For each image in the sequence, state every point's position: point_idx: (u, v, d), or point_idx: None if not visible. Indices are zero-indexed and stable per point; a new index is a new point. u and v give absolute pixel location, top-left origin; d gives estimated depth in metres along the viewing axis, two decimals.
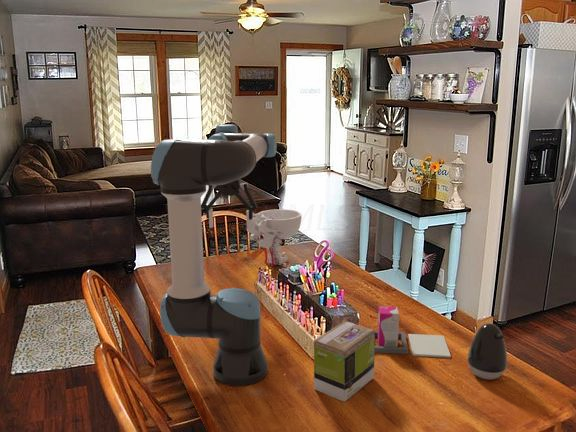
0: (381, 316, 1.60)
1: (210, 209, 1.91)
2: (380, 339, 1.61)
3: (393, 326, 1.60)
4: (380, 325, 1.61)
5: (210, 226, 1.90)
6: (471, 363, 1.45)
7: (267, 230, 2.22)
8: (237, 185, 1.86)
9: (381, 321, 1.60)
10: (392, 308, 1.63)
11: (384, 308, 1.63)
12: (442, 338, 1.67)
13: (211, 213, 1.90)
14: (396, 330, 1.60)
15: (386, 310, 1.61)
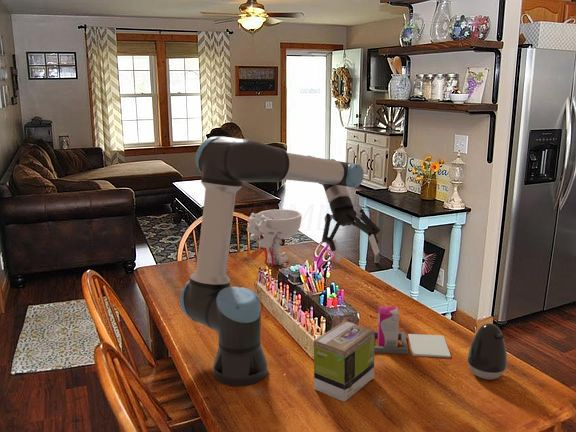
0: (381, 316, 1.60)
1: None
2: (380, 339, 1.61)
3: (393, 326, 1.60)
4: (380, 325, 1.61)
5: (339, 256, 1.70)
6: (471, 363, 1.45)
7: (267, 230, 2.22)
8: (354, 211, 1.79)
9: (381, 321, 1.60)
10: (392, 308, 1.63)
11: (384, 308, 1.63)
12: (442, 338, 1.67)
13: None
14: (396, 330, 1.60)
15: (386, 310, 1.61)
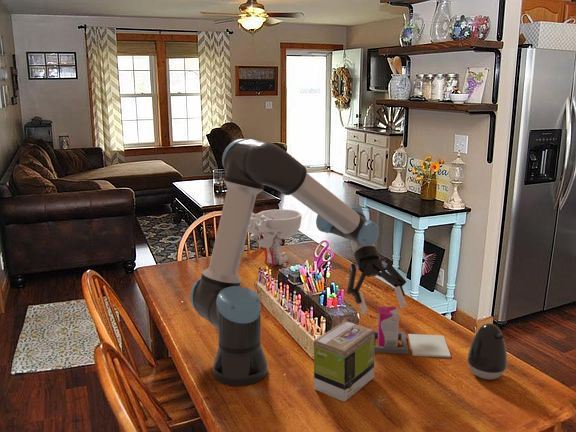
0: (381, 316, 1.60)
1: None
2: (380, 339, 1.61)
3: (393, 326, 1.60)
4: (380, 325, 1.61)
5: (366, 309, 1.64)
6: (471, 363, 1.45)
7: (267, 230, 2.22)
8: (380, 262, 1.75)
9: (381, 321, 1.60)
10: (392, 308, 1.63)
11: (384, 308, 1.63)
12: (442, 338, 1.67)
13: None
14: (396, 330, 1.60)
15: (386, 310, 1.61)
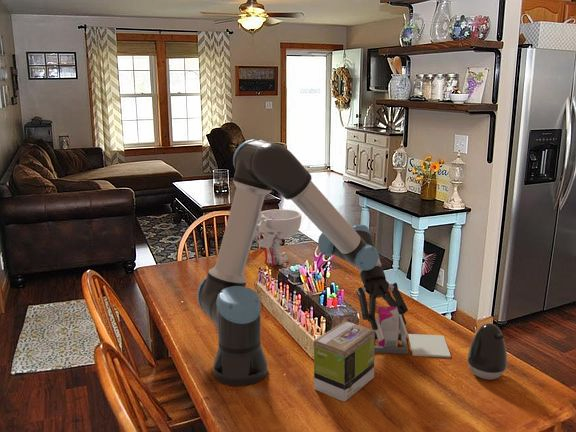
0: (381, 316, 1.60)
1: None
2: None
3: (393, 326, 1.60)
4: (380, 325, 1.61)
5: (382, 336, 1.59)
6: (471, 363, 1.45)
7: (267, 230, 2.22)
8: (387, 283, 1.69)
9: (381, 321, 1.60)
10: (392, 308, 1.63)
11: (384, 308, 1.63)
12: (442, 338, 1.67)
13: None
14: (396, 330, 1.60)
15: (386, 310, 1.61)
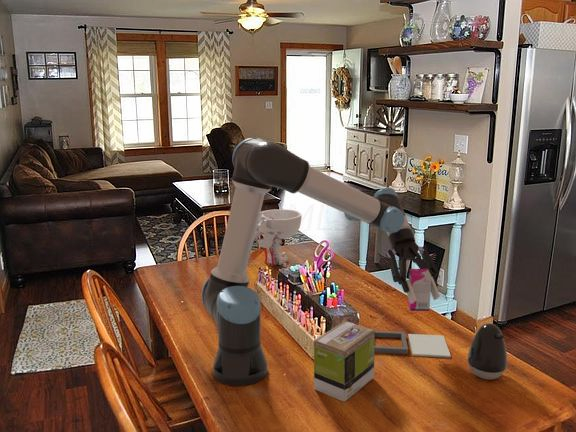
0: (413, 277, 1.56)
1: None
2: None
3: (425, 287, 1.57)
4: (412, 287, 1.57)
5: (415, 298, 1.55)
6: (471, 363, 1.45)
7: (267, 230, 2.22)
8: (416, 245, 1.66)
9: (413, 283, 1.57)
10: (423, 270, 1.60)
11: (415, 270, 1.60)
12: (442, 338, 1.67)
13: None
14: (428, 292, 1.57)
15: (417, 272, 1.58)
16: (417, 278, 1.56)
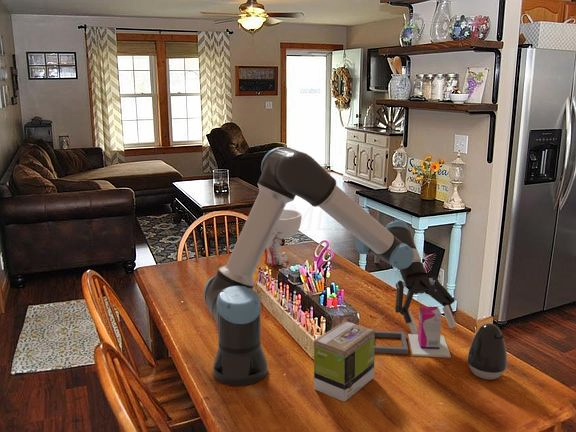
0: (423, 316, 1.58)
1: None
2: (422, 339, 1.60)
3: (435, 326, 1.59)
4: (422, 325, 1.59)
5: (416, 329, 1.57)
6: (471, 363, 1.45)
7: None
8: (427, 278, 1.67)
9: (423, 321, 1.59)
10: (433, 308, 1.62)
11: (425, 307, 1.62)
12: (442, 338, 1.67)
13: None
14: (438, 330, 1.59)
15: (427, 310, 1.60)
16: (428, 317, 1.58)
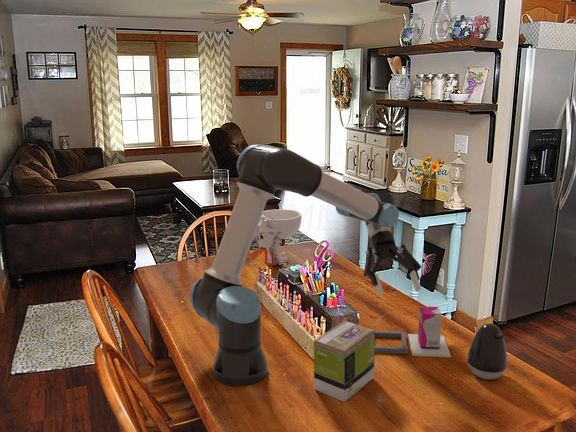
0: (423, 316, 1.58)
1: None
2: (422, 339, 1.60)
3: (435, 326, 1.59)
4: (422, 325, 1.59)
5: (382, 291, 1.68)
6: (471, 363, 1.45)
7: (267, 230, 2.22)
8: (396, 247, 1.79)
9: (423, 321, 1.59)
10: (433, 308, 1.62)
11: (425, 307, 1.62)
12: (442, 338, 1.67)
13: None
14: (438, 330, 1.59)
15: (428, 310, 1.60)
16: (428, 317, 1.58)
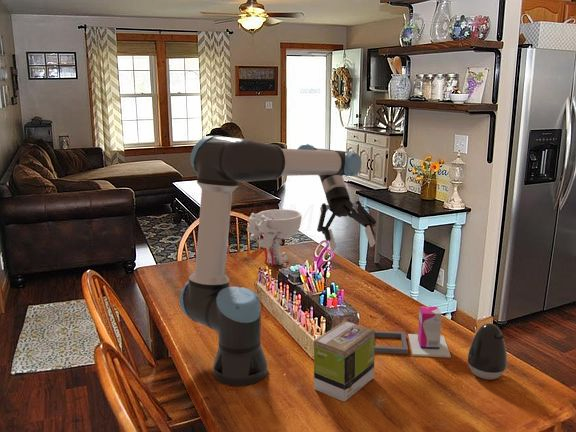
0: (423, 316, 1.58)
1: None
2: (422, 339, 1.60)
3: (435, 326, 1.59)
4: (422, 325, 1.59)
5: (335, 245, 1.67)
6: (471, 363, 1.45)
7: (267, 230, 2.22)
8: (350, 203, 1.77)
9: (423, 321, 1.59)
10: (433, 308, 1.62)
11: (425, 307, 1.62)
12: (442, 338, 1.67)
13: None
14: (438, 330, 1.59)
15: (427, 310, 1.60)
16: (428, 317, 1.58)
